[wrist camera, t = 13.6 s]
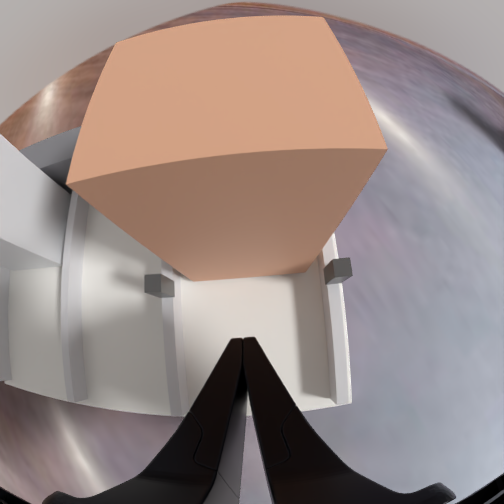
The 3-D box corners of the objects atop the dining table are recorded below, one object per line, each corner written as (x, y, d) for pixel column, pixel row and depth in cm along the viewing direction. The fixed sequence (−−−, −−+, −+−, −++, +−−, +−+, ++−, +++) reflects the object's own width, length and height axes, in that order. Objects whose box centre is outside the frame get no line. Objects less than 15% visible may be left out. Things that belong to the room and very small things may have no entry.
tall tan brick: (305, 272, 15) (387, 149, 4) (193, 281, 15) (65, 184, 4) (294, 187, 16) (322, 17, 6) (191, 197, 16) (116, 42, 6)
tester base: (346, 399, 14) (378, 423, 9) (12, 382, 15) (-31, 385, 10) (310, 140, 19) (321, 90, 14) (24, 189, 19) (-9, 164, 14)
